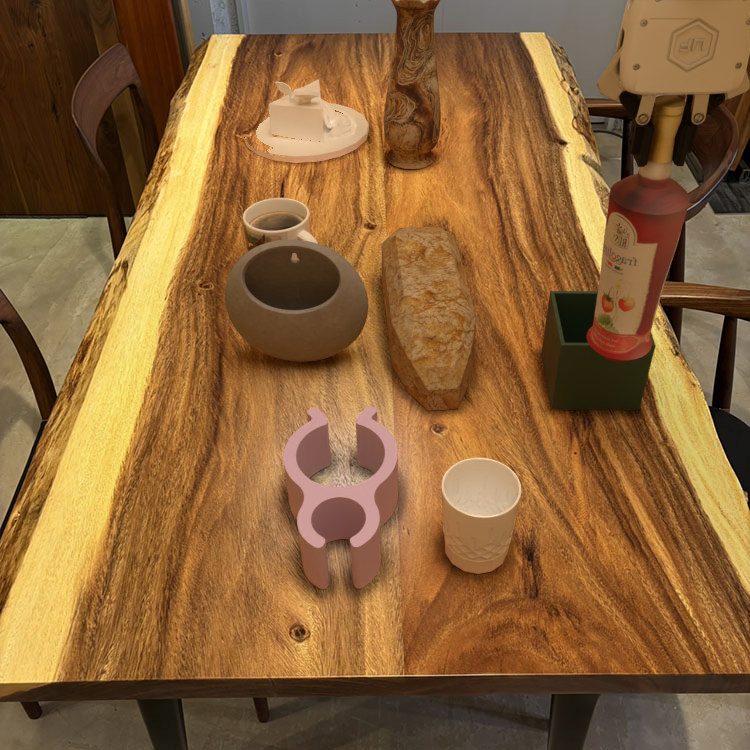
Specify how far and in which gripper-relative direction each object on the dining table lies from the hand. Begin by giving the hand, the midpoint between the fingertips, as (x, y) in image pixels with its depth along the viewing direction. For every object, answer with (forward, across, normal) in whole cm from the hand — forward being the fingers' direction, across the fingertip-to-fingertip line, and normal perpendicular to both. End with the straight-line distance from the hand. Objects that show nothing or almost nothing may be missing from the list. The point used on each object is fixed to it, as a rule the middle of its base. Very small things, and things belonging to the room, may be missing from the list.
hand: (657, 158), depth 77 cm
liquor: (+23, 0, 0) cm, 23 cm away
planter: (+37, -37, +16) cm, 55 cm away
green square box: (+37, +1, +11) cm, 39 cm away
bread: (+37, -20, +24) cm, 48 cm away
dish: (+37, -43, +86) cm, 103 cm away
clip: (+37, -30, -11) cm, 49 cm away
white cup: (+37, -16, -16) cm, 43 cm away
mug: (+37, -41, +34) cm, 65 cm away
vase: (+37, -22, +75) cm, 86 cm away
